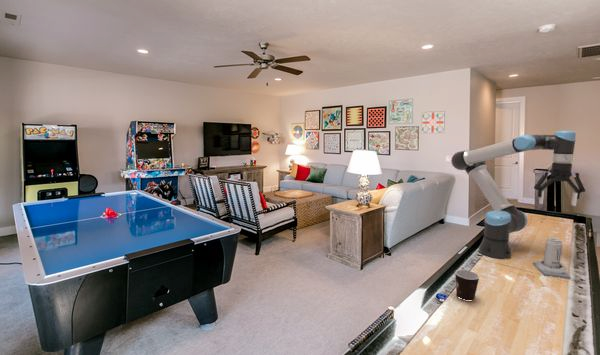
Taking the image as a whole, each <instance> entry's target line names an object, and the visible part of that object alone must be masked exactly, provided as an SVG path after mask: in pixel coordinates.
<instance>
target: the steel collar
mask: <svg viewBox="0 0 600 355" xmlns="http://www.w3.org/2000/svg"><path fill="white" fill-rule="evenodd" d="M536 262H537V264H536V266H537V267H538V268H539V269H540V270H543V271H546V272H549V273H554V274H564V273H567V269H568V268H567V266H565V265H564V264H563V263H561V262H560V266H559V268H552V267H548V266H545V265H543V263H544V259H540V260H536Z"/></svg>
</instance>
